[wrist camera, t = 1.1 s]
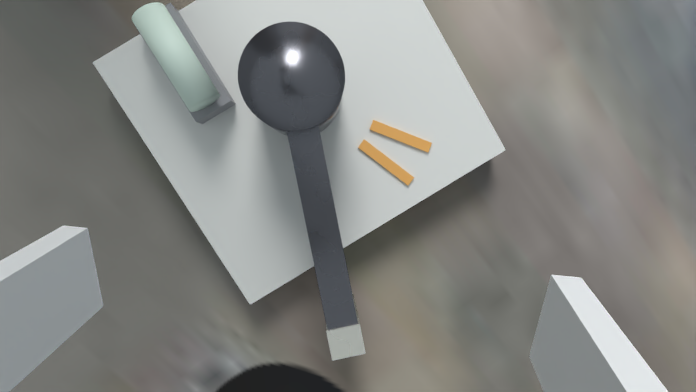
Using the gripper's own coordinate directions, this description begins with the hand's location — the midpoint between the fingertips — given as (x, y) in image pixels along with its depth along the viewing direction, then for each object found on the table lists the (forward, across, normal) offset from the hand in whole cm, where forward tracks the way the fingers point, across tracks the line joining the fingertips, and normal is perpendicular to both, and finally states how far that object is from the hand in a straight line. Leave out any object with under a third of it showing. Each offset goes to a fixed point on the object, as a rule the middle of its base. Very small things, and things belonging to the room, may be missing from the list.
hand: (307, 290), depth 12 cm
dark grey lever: (+20, -3, -4) cm, 21 cm away
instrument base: (+25, -6, +1) cm, 26 cm away
